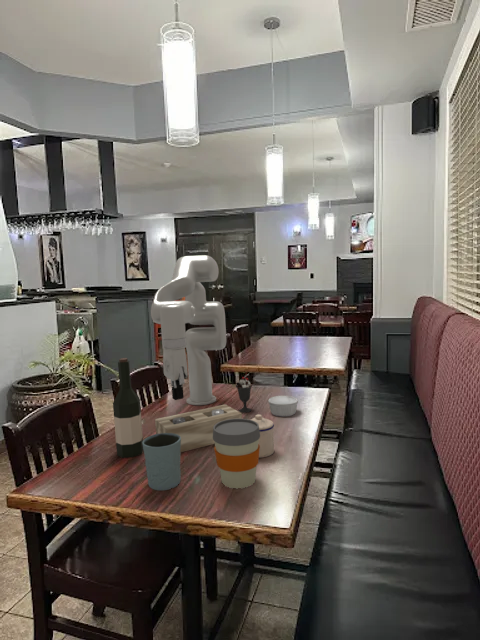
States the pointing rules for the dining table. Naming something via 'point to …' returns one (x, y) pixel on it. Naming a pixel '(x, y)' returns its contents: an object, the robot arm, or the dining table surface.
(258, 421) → the teacup with lid
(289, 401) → the ramekin
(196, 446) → the birch block
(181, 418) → the graphite peg
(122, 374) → the wine bottle
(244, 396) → the sundae
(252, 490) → the dining table surface
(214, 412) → the steel peg
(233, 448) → the reusable coffee cup
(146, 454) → the blue cup
